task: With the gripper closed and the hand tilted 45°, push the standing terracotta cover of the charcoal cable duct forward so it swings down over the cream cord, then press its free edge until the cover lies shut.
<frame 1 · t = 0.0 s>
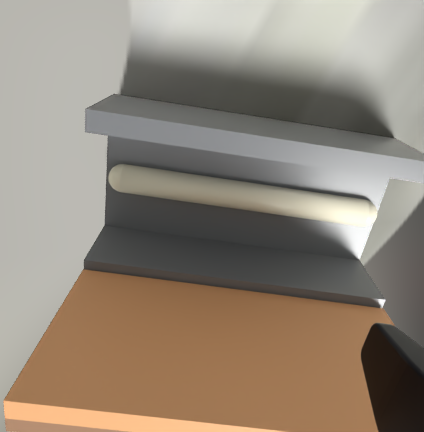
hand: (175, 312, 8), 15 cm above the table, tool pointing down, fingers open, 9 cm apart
cable duct: (243, 187, 23), on the table
duct cover: (239, 355, 16), point 9 cm above the table, hinge at 88.0°
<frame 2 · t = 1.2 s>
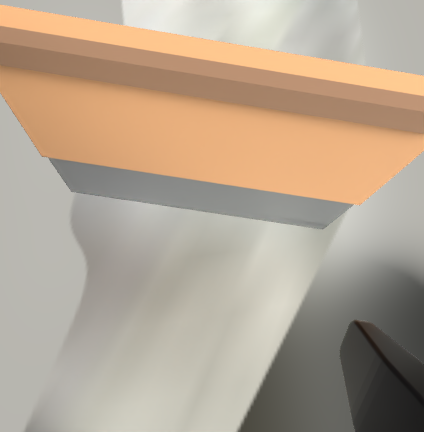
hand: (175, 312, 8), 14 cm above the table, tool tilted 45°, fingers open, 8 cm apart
cable duct: (207, 150, 25), on the table
duct cover: (210, 134, 15), point 9 cm above the table, hinge at 88.0°
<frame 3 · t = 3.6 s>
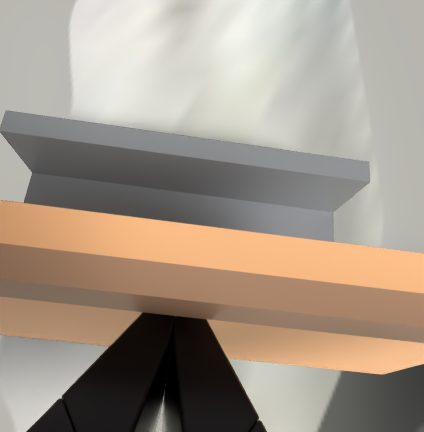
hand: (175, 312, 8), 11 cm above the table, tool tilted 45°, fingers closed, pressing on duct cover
cable duct: (178, 257, 20), on the table
duct cover: (166, 319, 10), point 9 cm above the table, hinge at 79.0°, touching gripper
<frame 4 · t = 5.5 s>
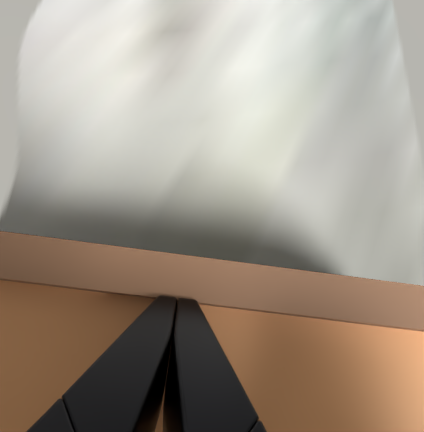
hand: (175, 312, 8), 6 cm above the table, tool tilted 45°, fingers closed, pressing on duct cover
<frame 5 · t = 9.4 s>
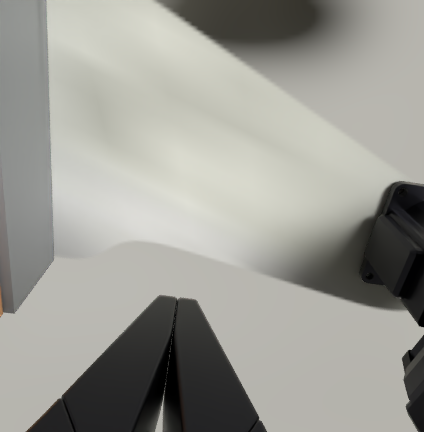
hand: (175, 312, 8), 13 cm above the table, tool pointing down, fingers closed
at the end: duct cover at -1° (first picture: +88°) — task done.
